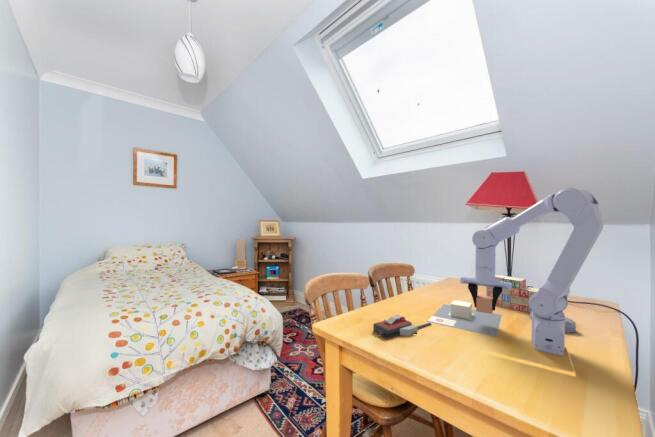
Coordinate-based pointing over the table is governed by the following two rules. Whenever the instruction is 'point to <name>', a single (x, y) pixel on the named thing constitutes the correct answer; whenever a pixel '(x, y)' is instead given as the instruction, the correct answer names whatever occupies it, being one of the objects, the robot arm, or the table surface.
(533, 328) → the robot arm
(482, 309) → the orange cube
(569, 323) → the stone block
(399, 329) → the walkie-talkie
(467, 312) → the cream base block
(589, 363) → the table surface
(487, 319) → the board
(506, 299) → the stack of blocks
